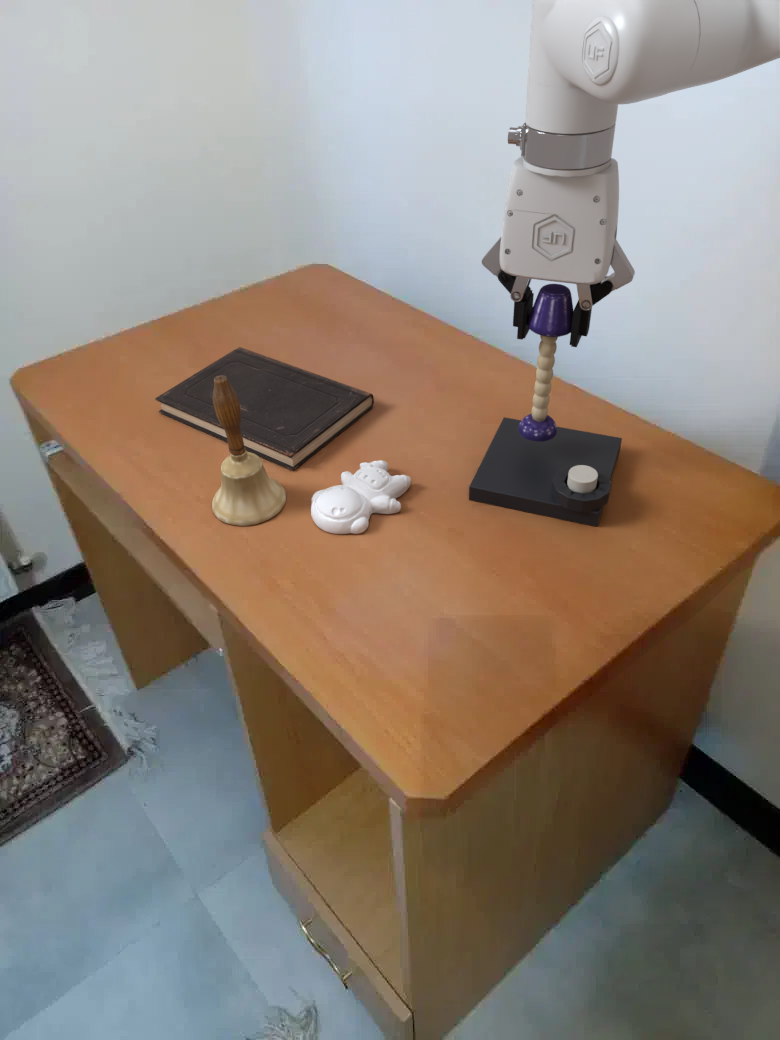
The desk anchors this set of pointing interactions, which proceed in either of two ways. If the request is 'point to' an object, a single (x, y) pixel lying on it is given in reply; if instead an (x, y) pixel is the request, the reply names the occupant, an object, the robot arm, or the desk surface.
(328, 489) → the white flat figure
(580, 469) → the button
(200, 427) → the hardcover book
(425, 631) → the desk surface
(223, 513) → the hand bell
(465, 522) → the desk surface
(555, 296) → the toy lamp
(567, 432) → the scale
